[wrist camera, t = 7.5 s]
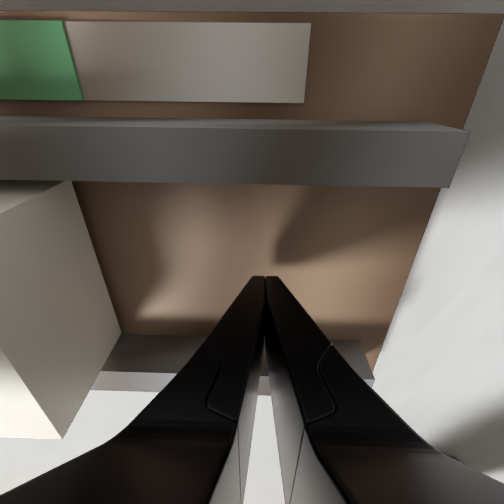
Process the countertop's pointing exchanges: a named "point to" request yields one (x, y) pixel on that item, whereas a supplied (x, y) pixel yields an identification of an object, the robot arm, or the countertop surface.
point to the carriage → (48, 309)
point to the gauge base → (242, 160)
